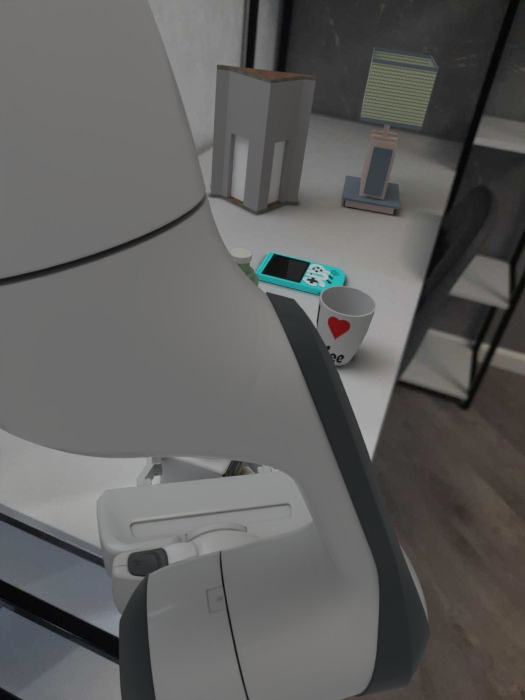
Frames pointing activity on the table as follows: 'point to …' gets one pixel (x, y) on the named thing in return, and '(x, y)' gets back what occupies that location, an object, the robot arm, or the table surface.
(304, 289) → the handheld game console
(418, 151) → the table surface
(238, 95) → the grey toy building
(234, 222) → the table surface
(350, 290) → the cup
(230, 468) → the medicine bottle
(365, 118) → the desk lamp
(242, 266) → the far bottle
